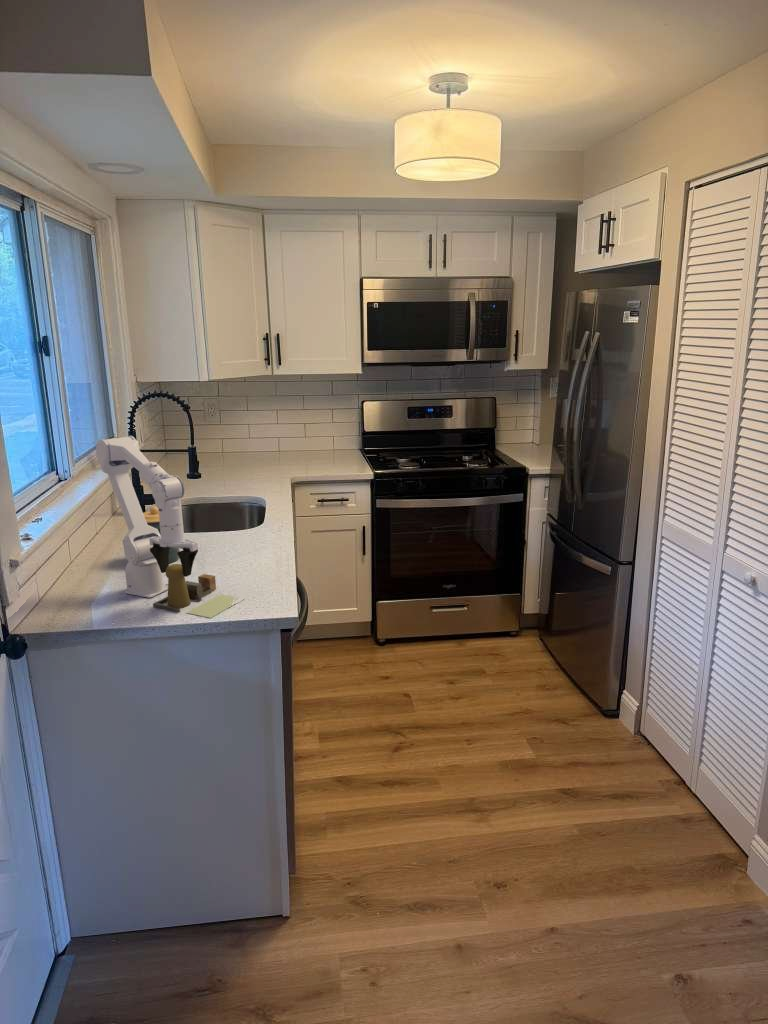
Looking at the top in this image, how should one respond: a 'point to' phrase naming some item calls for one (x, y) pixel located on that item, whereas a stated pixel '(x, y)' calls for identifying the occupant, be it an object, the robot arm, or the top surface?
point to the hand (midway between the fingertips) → (176, 573)
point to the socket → (197, 597)
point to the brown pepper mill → (177, 587)
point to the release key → (206, 582)
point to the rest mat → (213, 606)
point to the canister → (153, 521)
